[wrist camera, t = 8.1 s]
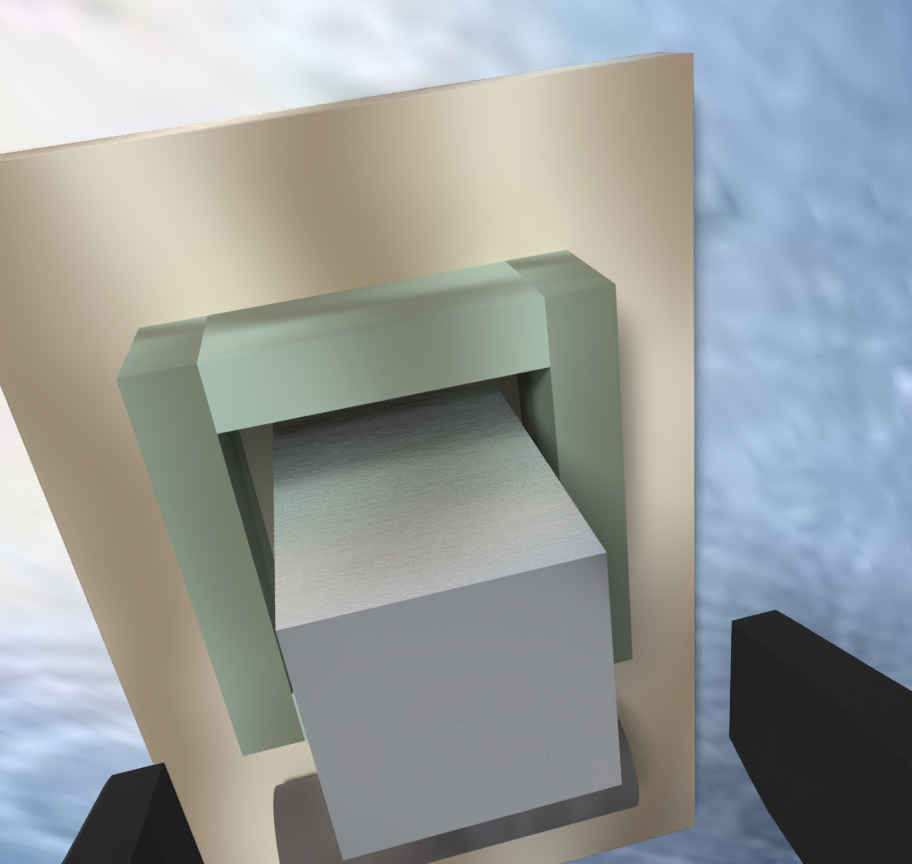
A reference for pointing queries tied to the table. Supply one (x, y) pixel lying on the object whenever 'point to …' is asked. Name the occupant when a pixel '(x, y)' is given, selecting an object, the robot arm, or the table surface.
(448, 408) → the key peg
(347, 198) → the block
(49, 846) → the table surface
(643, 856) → the table surface
